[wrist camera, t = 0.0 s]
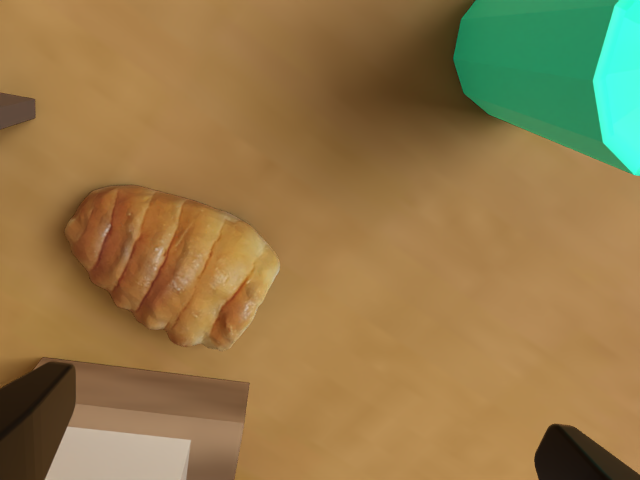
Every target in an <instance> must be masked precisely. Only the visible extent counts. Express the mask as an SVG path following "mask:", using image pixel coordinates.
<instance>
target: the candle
mask: <svg viewBox="0 0 640 480" xmlns="http://www.w3.org/2000/svg"><path fill="white" fill-rule="evenodd" d="M453 60H454V64H455V67H456V70H457V74H458V77H459V80H460V83H461V87H462V90H463V93H464V94H465V95H466V96H467V97H468V98H470V99H471V100H472V101H473V102H474V103H476V104H477V105H478V106H479V107H480V108H482V109H483V110H484V111H485V112H486V113H488V114H489V115H491V116H494V117H496V118H498V119H501V120H503V121H506V122H508V123H510V124H513V125H515V126H518V127H520V128H522V129H525V130H527V131H530V132H532V133H534V134H537V135H539V136H542V137H544V138H546V139H549V140H551V141H554V142H556V143H558V144H561V145H563V146H566V147H568V148H571V149H573V150H575V151H578V152H580V153H583V154H585V155H587V156H590V157H592V158H595V159H597V160H599V161H602V162H604V163H607V164H609V165H611V166H614V167H616V168H619V169H621V170H623V171H626V172H628V173H631V174H633V175H637V176H640V0H475V2H474V3H473V4H472V6H471V7H470V8H469V10H468V11H467V12H466V14H465V15H464V16H463V17H462V19H461V22H460V27H459V32H458V37H457V42H456V47H455V52H454V57H453Z"/></svg>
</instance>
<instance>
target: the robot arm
mask: <svg viewBox="0 0 640 480" xmlns="http://www.w3.org/2000/svg"><path fill="white" fill-rule="evenodd" d="M75 404H76V369H75V366H74V365H73V364H71V363H63V362H55V361H50V362H47V363H45V364H43V365H41V366H40V367H38V368H36V369H34V370H32V371H31V372H29V373H27V374H25V375H23V376H22V377H20V378H18V379H16V380H14V381H13V382H11V383H9V384H7V385H5V386H4V387H2V388H0V480H45V478H46V476H47V474H48V471H49V469H50V467H51V464H52V462H53V460H54V457H55V455H56V452H57V450H58V448H59V445H60V443H61V441H62V438H63V436H64V434H65V431H66V429H67V427H68V424H69V422H70V420H71V417H72V415H73V412H74V408H75ZM534 462H535V468H536V472H537V475H538V478H539V480H640V475H639V474H638V473H637V472H635V471H634V470H632V469H631V468H630V467H628V466H627V465H626V464H624V463H623V462H622V461H620V460H619V459H617V458H616V457H615V456H613V455H612V454H611V453H609V452H608V451H607V450H605V449H604V448H603V447H601V446H600V445H598V444H597V443H596V442H594V441H593V440H592V439H590V438H589V437H588V436H586V435H585V434H583V433H582V432H581V431H579V430H578V429H577V428H575V427H573V426H570V425H562V424H552V425H550V426H549V427H548V429H547V431H546V433H545V435H544V437H543V439H542V441H541V443H540V445H539V447H538V449H537V451H536V453H535V459H534Z"/></svg>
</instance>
